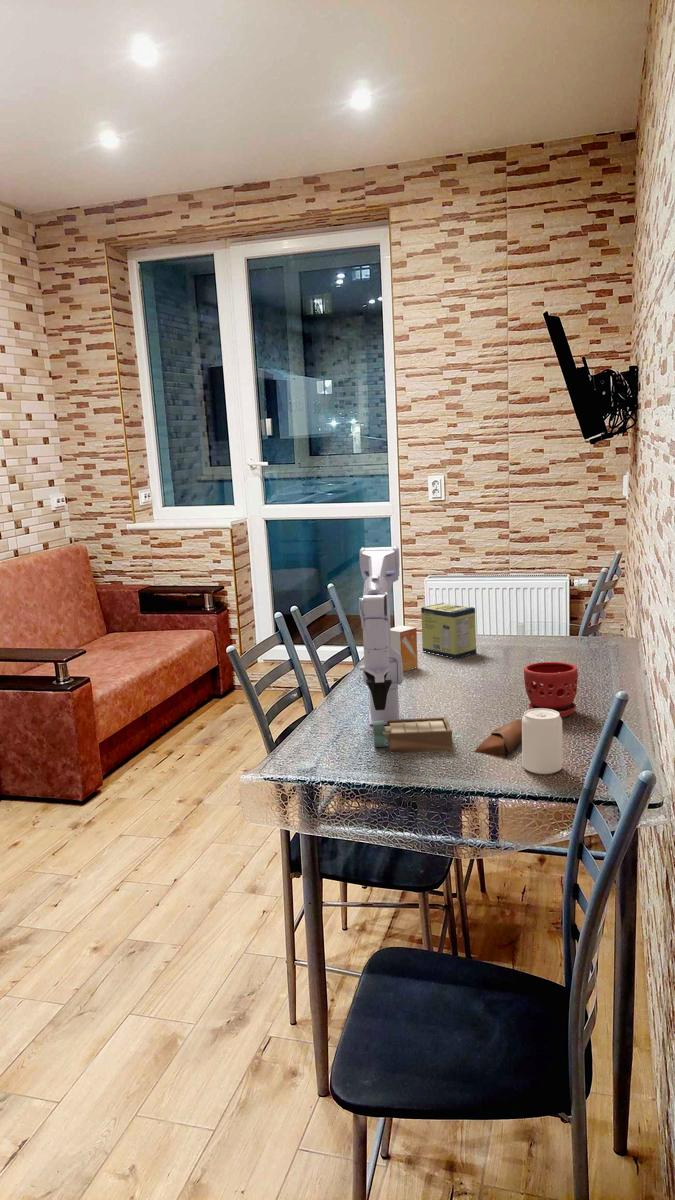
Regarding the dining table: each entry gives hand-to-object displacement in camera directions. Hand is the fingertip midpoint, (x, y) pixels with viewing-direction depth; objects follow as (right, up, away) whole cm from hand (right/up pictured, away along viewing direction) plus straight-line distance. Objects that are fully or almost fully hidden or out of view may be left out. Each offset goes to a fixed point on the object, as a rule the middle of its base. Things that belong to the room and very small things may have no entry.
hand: (378, 704), depth 184 cm
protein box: (+28, +6, +85) cm, 90 cm away
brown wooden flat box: (+10, -9, +2) cm, 13 cm away
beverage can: (+33, -11, -16) cm, 39 cm away
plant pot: (+45, -5, +19) cm, 49 cm away
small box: (+11, +2, +68) cm, 69 cm away
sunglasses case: (+29, -9, 0) cm, 30 cm away
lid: (+7, -9, +2) cm, 12 cm away
